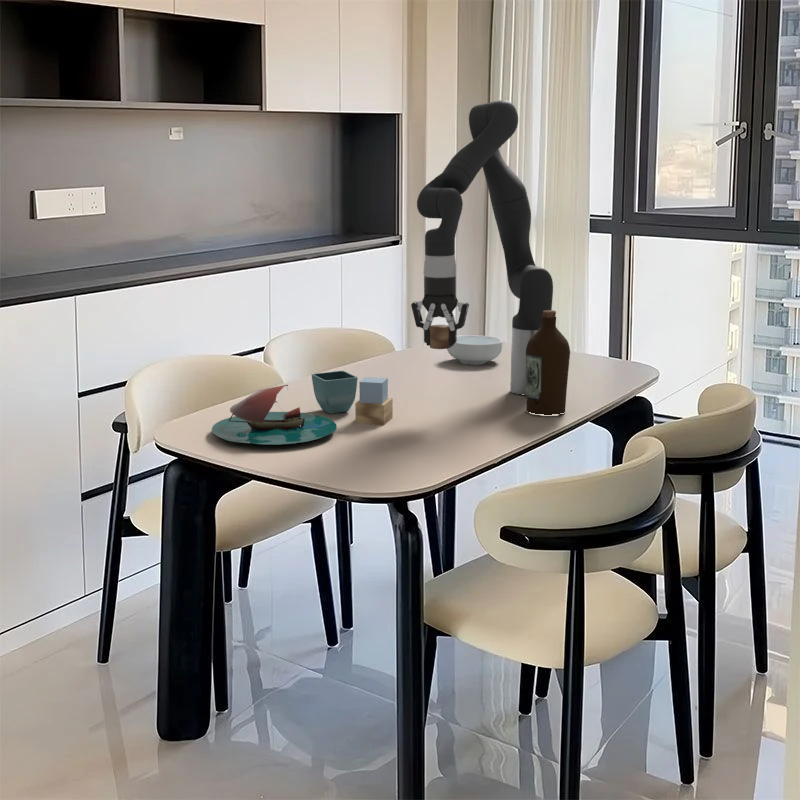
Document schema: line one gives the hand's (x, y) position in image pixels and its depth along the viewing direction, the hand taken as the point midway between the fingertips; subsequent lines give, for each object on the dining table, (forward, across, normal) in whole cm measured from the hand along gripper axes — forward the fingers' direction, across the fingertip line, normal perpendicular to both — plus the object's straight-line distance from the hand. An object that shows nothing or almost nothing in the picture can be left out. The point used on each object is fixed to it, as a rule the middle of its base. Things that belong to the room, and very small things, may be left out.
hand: (440, 345), depth 262 cm
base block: (+17, +14, +10) cm, 24 cm away
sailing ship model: (+17, +32, +28) cm, 45 cm away
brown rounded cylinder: (0, 0, 0) cm, 0 cm away
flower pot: (+17, +26, +4) cm, 31 cm away
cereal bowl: (+18, +5, -65) cm, 68 cm away
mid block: (+12, +14, +10) cm, 21 cm away
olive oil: (+18, -24, -9) cm, 31 cm away
